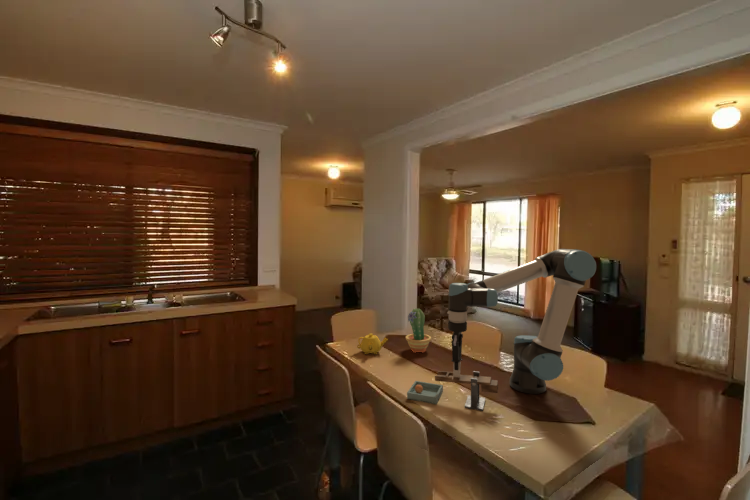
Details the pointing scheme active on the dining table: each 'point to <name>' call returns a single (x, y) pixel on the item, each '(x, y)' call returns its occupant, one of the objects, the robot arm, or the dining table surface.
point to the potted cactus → (417, 332)
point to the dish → (425, 392)
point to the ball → (418, 388)
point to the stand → (475, 395)
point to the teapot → (371, 344)
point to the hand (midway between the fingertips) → (456, 376)
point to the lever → (469, 380)
